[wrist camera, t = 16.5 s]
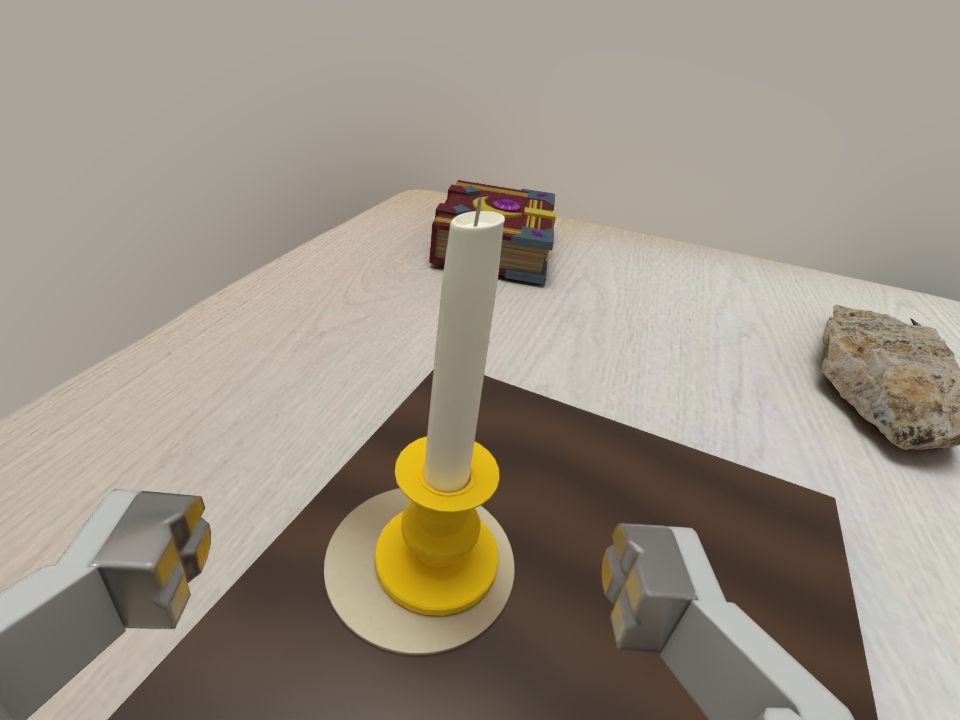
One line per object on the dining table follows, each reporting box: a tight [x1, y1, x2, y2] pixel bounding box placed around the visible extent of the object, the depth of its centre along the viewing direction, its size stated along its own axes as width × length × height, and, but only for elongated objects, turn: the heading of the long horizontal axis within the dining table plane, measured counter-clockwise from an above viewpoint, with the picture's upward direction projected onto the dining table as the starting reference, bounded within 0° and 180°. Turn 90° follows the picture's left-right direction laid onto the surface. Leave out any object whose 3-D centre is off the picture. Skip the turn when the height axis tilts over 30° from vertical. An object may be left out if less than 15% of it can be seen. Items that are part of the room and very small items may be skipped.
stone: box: [821, 305, 960, 450], centre depth 42 cm, size 21×6×10 cm
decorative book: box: [429, 180, 556, 285], centre depth 55 cm, size 11×16×5 cm
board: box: [108, 370, 878, 720], centre depth 23 cm, size 24×24×2 cm
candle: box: [375, 197, 505, 616], centre depth 18 cm, size 5×5×16 cm
